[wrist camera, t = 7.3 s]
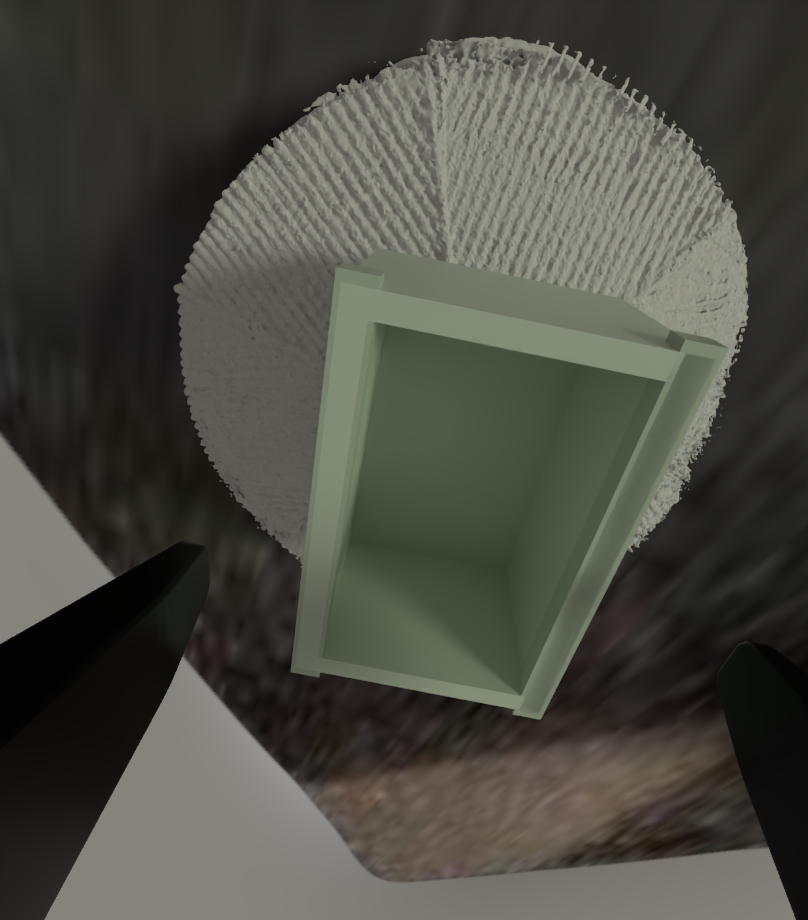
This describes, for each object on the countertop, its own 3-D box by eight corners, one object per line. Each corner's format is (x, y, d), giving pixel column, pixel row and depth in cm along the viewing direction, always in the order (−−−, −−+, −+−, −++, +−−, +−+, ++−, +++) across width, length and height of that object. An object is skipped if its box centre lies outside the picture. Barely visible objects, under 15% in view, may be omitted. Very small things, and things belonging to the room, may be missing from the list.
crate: (516, 580, 17) (540, 719, 12) (332, 544, 17) (290, 672, 12) (628, 290, 12) (729, 348, 8) (376, 238, 12) (336, 267, 8)
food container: (124, 123, 17) (-49, 97, 11) (767, -28, 14) (997, -174, 8) (288, 571, 27) (241, 685, 21) (693, 540, 24) (775, 662, 18)
